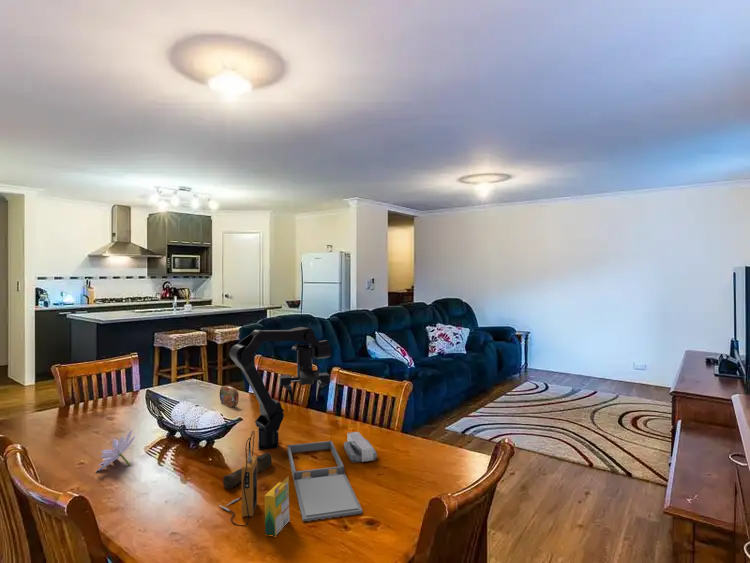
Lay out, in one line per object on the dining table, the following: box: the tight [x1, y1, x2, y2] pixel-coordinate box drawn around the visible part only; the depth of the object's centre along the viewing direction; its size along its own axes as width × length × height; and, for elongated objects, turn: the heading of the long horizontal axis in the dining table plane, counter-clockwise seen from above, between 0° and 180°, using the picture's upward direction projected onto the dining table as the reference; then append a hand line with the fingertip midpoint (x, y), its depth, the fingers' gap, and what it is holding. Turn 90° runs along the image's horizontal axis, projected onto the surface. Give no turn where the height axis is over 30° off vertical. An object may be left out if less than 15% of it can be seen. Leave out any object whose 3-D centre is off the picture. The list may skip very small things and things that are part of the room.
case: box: [286, 440, 363, 522], centre depth 139 cm, size 15×45×2 cm, turn 16°
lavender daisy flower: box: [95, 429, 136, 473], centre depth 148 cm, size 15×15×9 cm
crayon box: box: [264, 475, 290, 537], centre depth 112 cm, size 7×3×12 cm, turn 163°
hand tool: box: [222, 452, 273, 490], centre depth 140 cm, size 19×4×5 cm, turn 149°
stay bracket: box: [343, 439, 378, 463], centre depth 157 cm, size 8×12×2 cm
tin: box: [219, 385, 239, 408], centre depth 213 cm, size 15×3×8 cm, turn 43°
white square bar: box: [346, 431, 374, 463], centre depth 157 cm, size 4×16×4 cm, turn 21°
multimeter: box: [218, 430, 258, 526], centre depth 120 cm, size 15×10×20 cm
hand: (304, 401), depth 173 cm, fingers open, 9 cm apart
